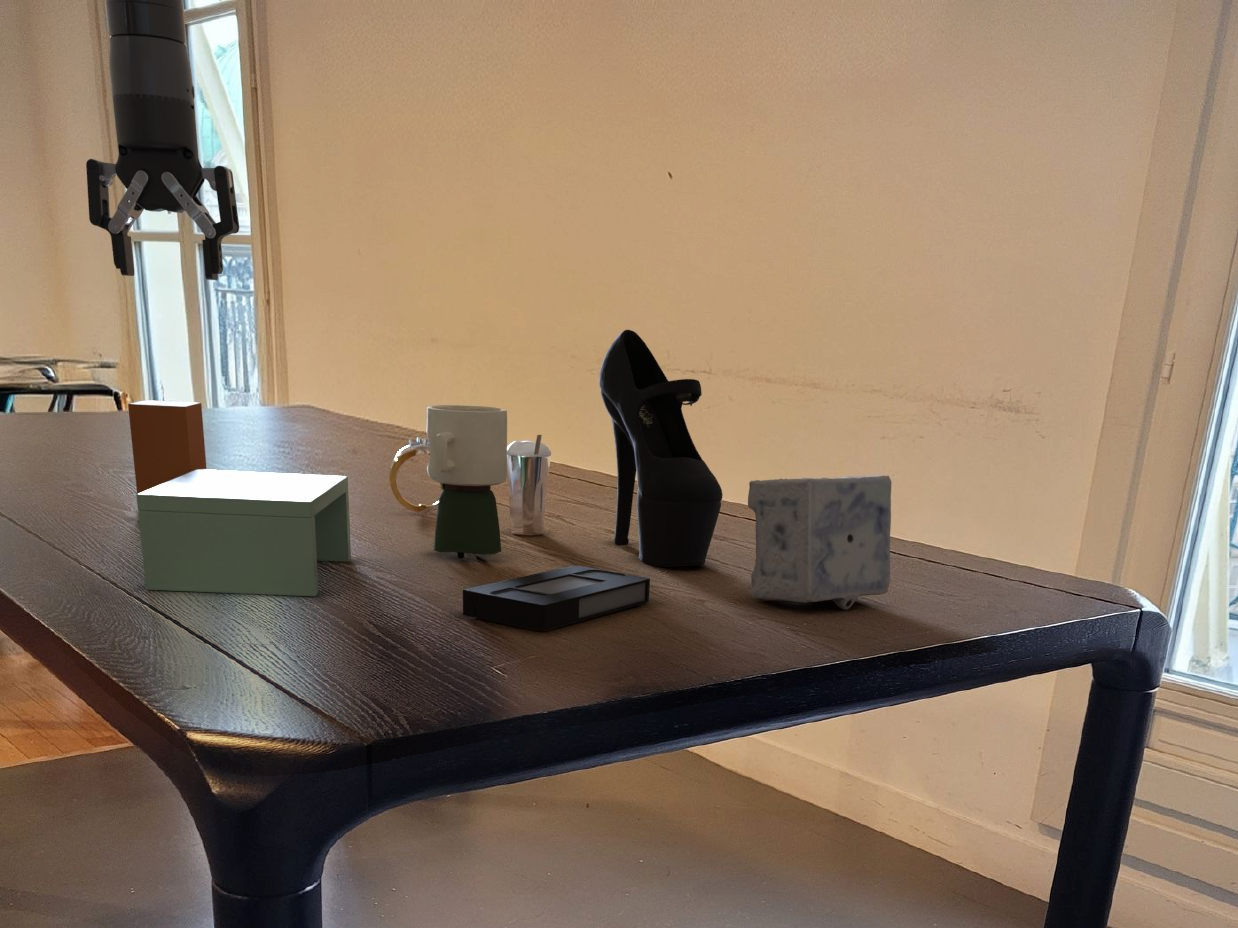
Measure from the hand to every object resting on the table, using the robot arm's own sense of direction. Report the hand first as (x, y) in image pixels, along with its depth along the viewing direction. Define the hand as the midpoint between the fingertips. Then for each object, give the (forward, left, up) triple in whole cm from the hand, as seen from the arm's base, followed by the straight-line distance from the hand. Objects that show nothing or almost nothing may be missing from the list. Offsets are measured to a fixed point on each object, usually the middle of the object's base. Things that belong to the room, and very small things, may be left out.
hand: (170, 277), depth 131 cm
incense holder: (+63, -39, -23) cm, 77 cm away
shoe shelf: (+16, -37, -22) cm, 46 cm away
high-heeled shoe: (+51, -21, -23) cm, 59 cm away
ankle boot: (+5, -10, -22) cm, 25 cm away
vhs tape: (+42, -46, -23) cm, 66 cm away
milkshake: (+38, -11, -23) cm, 45 cm away
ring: (+26, -1, -23) cm, 34 cm away
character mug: (+33, -25, -23) cm, 47 cm away
